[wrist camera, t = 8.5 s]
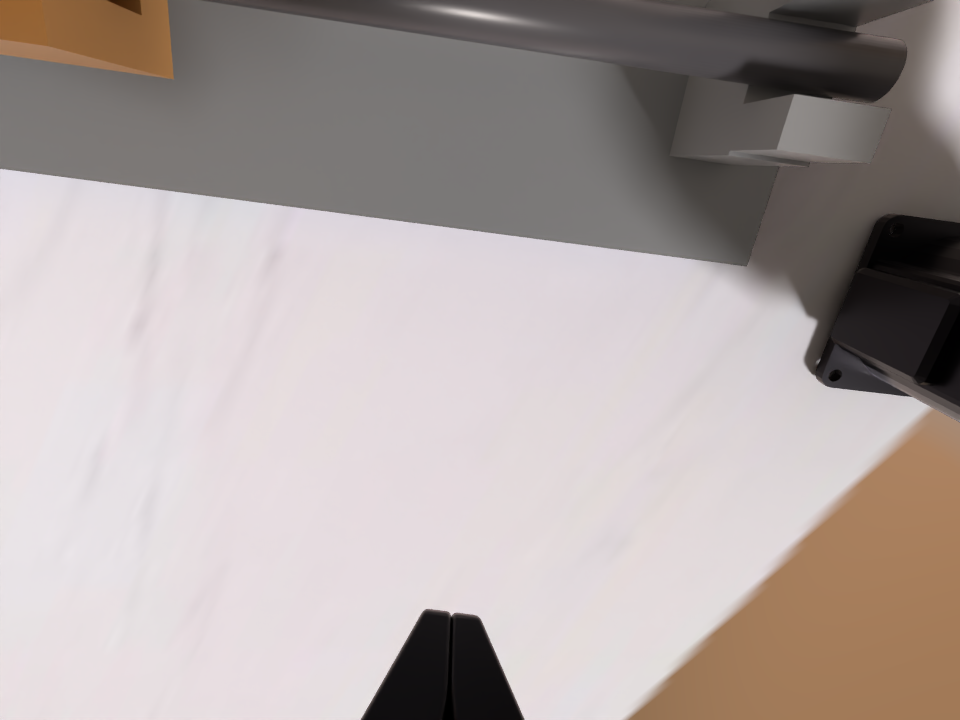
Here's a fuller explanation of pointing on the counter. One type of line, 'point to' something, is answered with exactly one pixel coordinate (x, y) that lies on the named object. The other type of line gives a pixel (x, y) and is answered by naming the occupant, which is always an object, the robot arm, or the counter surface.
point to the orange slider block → (90, 33)
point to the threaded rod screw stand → (479, 112)
